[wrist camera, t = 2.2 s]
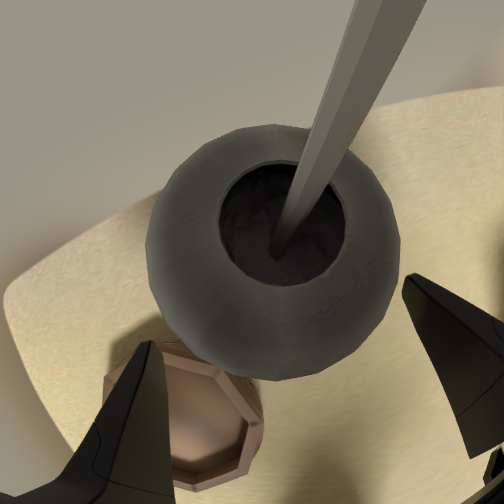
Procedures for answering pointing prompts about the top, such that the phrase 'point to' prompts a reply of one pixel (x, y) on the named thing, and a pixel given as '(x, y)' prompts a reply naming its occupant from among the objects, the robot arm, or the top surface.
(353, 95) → the beverage cup
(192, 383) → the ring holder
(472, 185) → the top surface
